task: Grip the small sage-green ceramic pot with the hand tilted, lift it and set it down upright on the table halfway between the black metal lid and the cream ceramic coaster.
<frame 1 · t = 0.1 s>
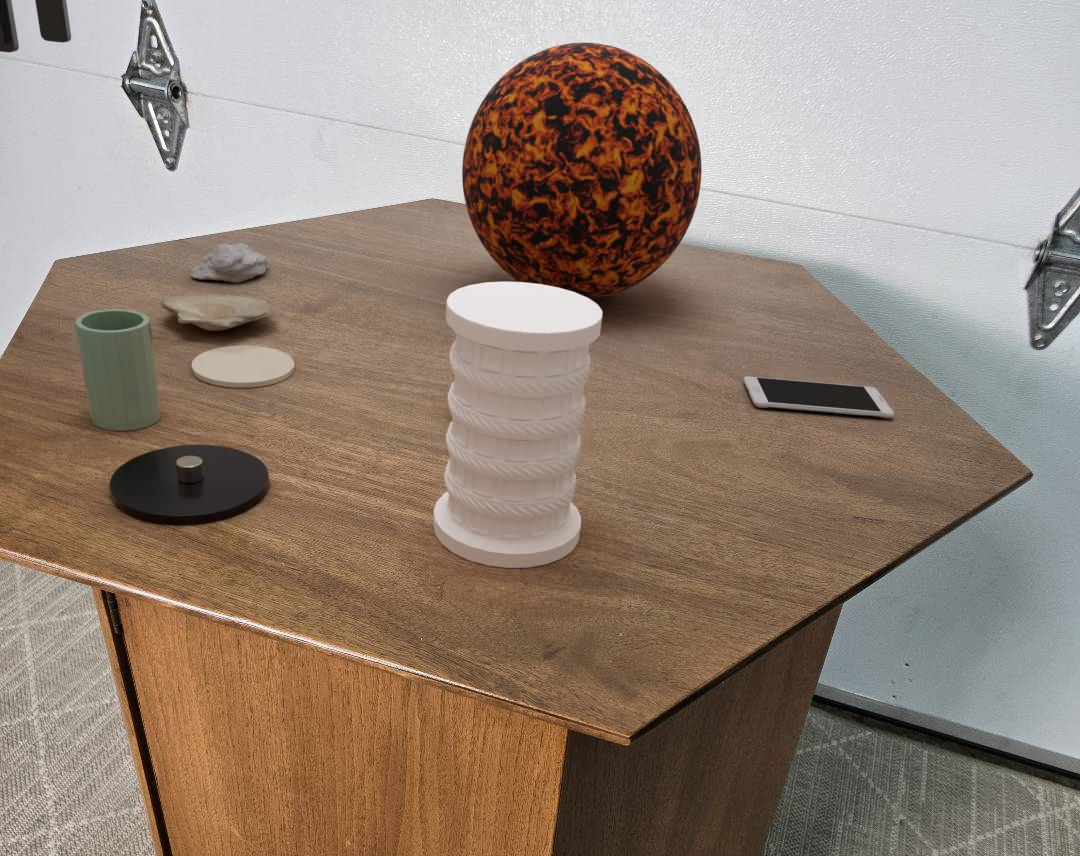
hand: (31, 46, 77), 29 cm above the table, tool pointing down, fingers open, 8 cm apart
stone: (231, 275, 125), on the table
coaster: (243, 368, 100), on the table
lid: (191, 486, 78), on the table
pot: (126, 417, 88), on the table
seashell: (219, 326, 109), on the table
smartphone: (815, 401, 106), on the table
figurine: (471, 419, 94), on the table
ball: (568, 295, 130), on the table
decorative container: (506, 530, 77), on the table
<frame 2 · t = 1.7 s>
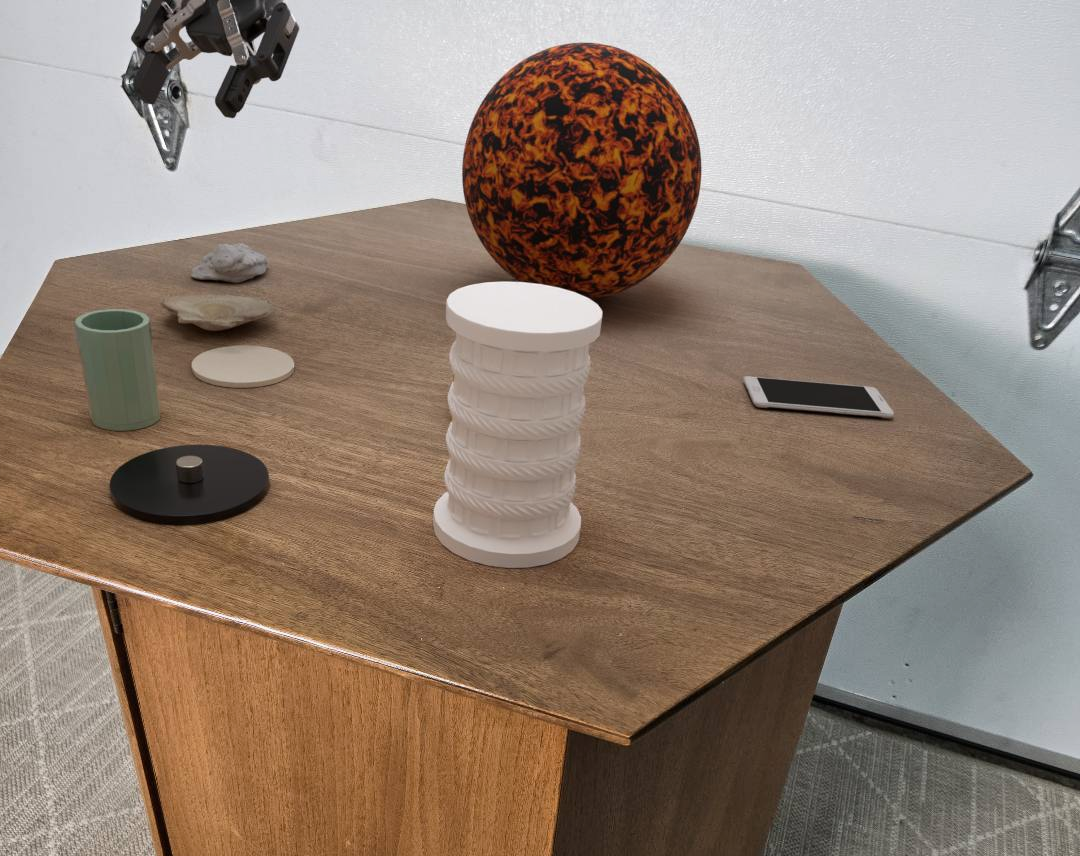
hand: (182, 104, 84), 25 cm above the table, tool tilted 45°, fingers open, 8 cm apart
nothing on the table moved.
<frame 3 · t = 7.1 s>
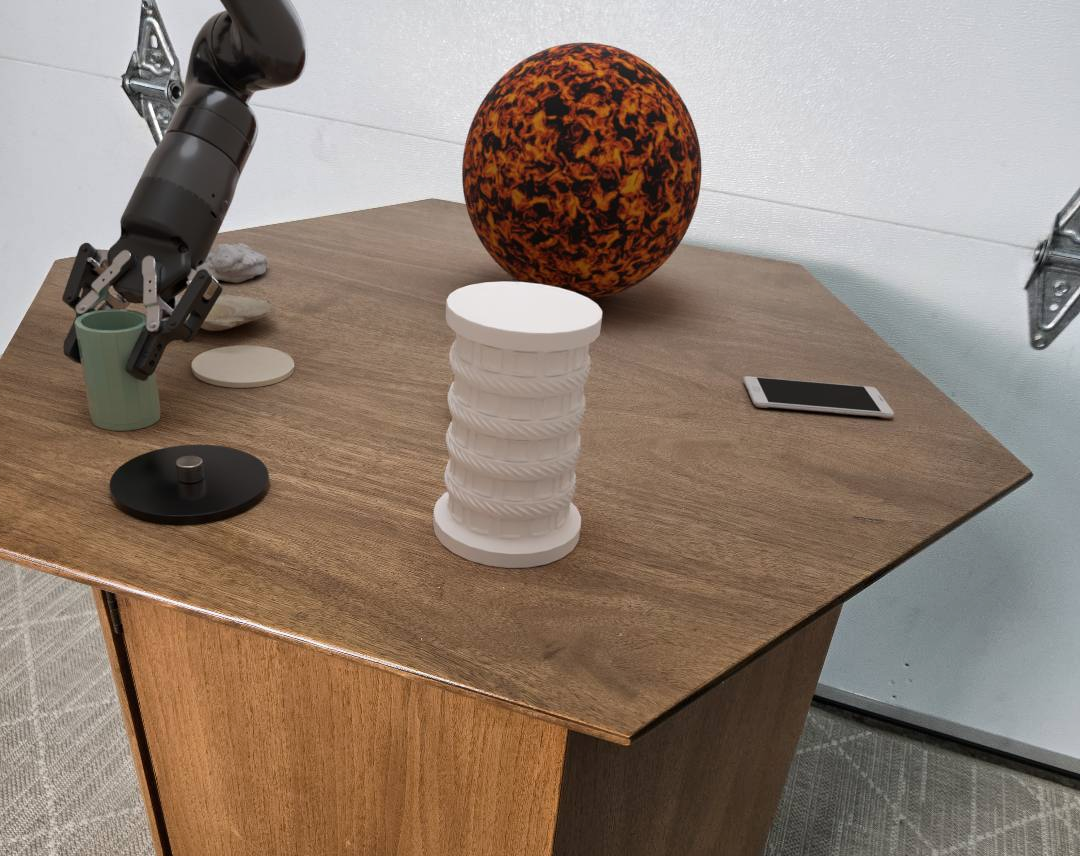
hand: (104, 367, 84), 5 cm above the table, tool tilted 45°, fingers closed on pot, 6 cm apart
pot: (126, 417, 88), on the table, touching gripper
everything else where it was.
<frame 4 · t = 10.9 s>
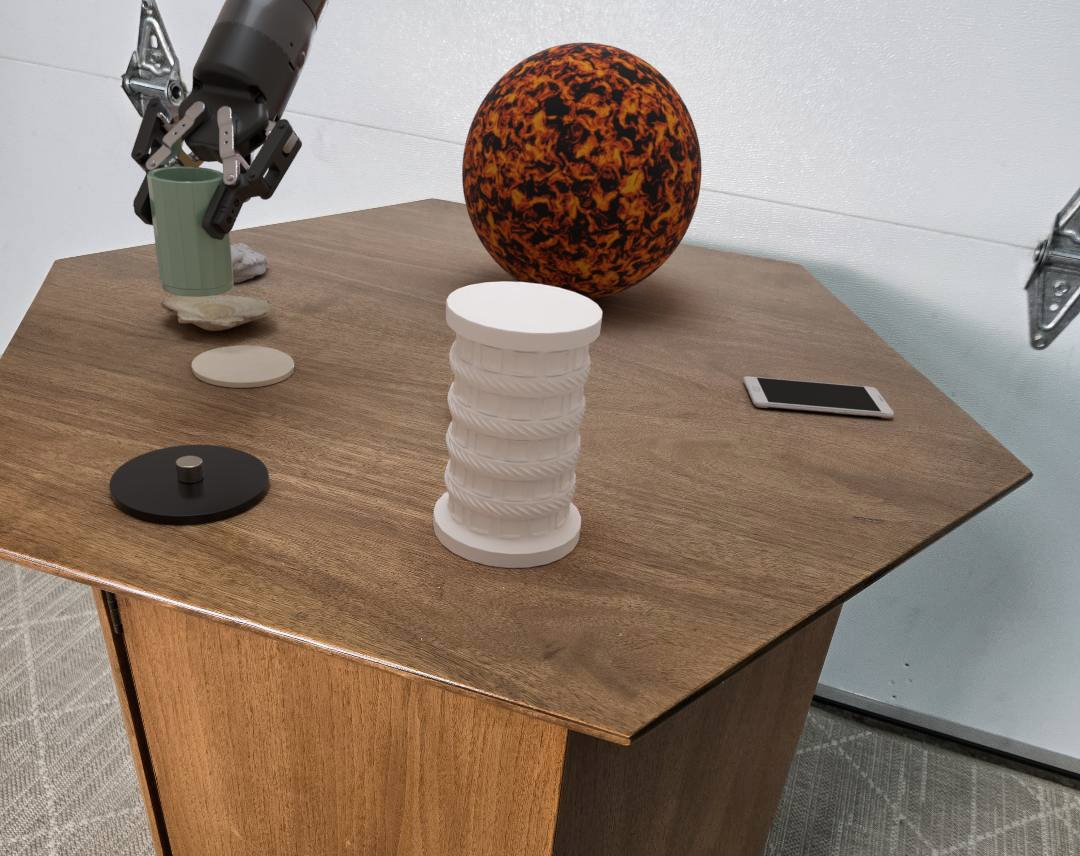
hand: (177, 226, 78), 18 cm above the table, tool tilted 45°, fingers closed on pot, 6 cm apart
pot: (197, 285, 83), point 12 cm above the table, touching gripper
everything else where it was.
when the fingers open (5 cm above the table, at t = 14.7 s): pot stays where it is, on the table.
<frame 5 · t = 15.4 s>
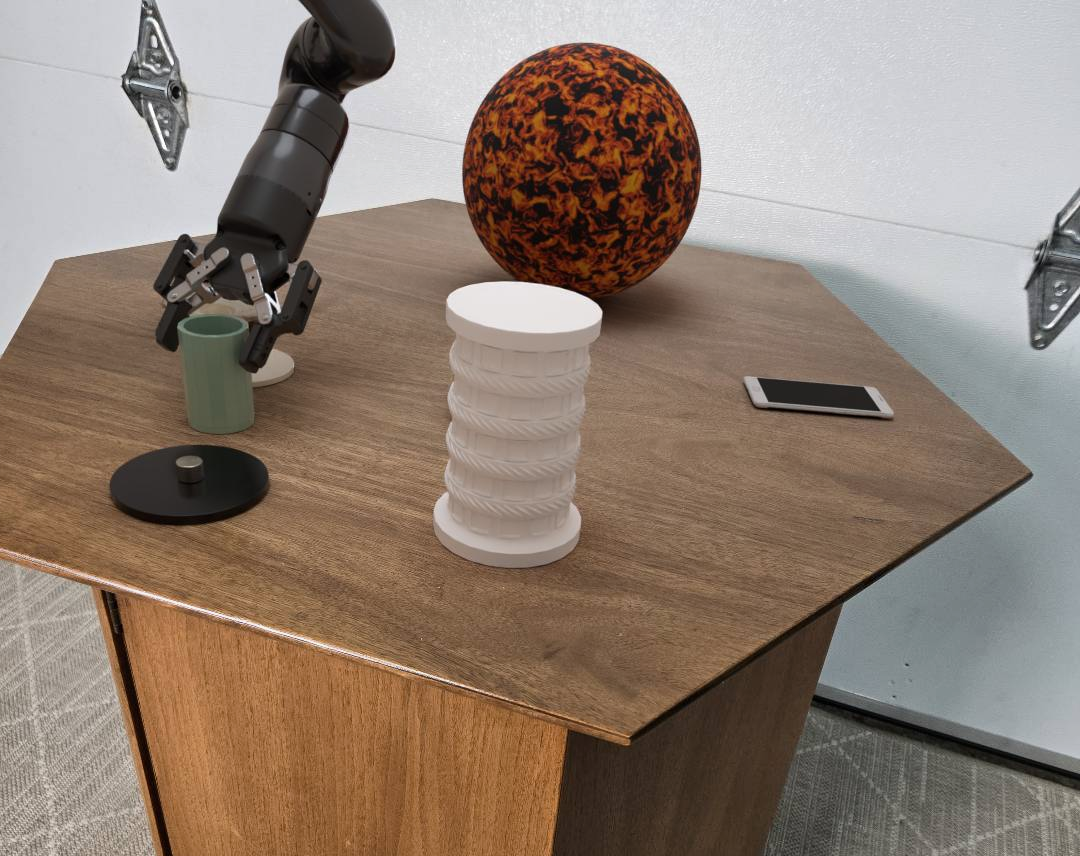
hand: (205, 358, 85), 6 cm above the table, tool tilted 45°, fingers open, 8 cm apart
pot: (221, 420, 89), on the table
everything else where it was.
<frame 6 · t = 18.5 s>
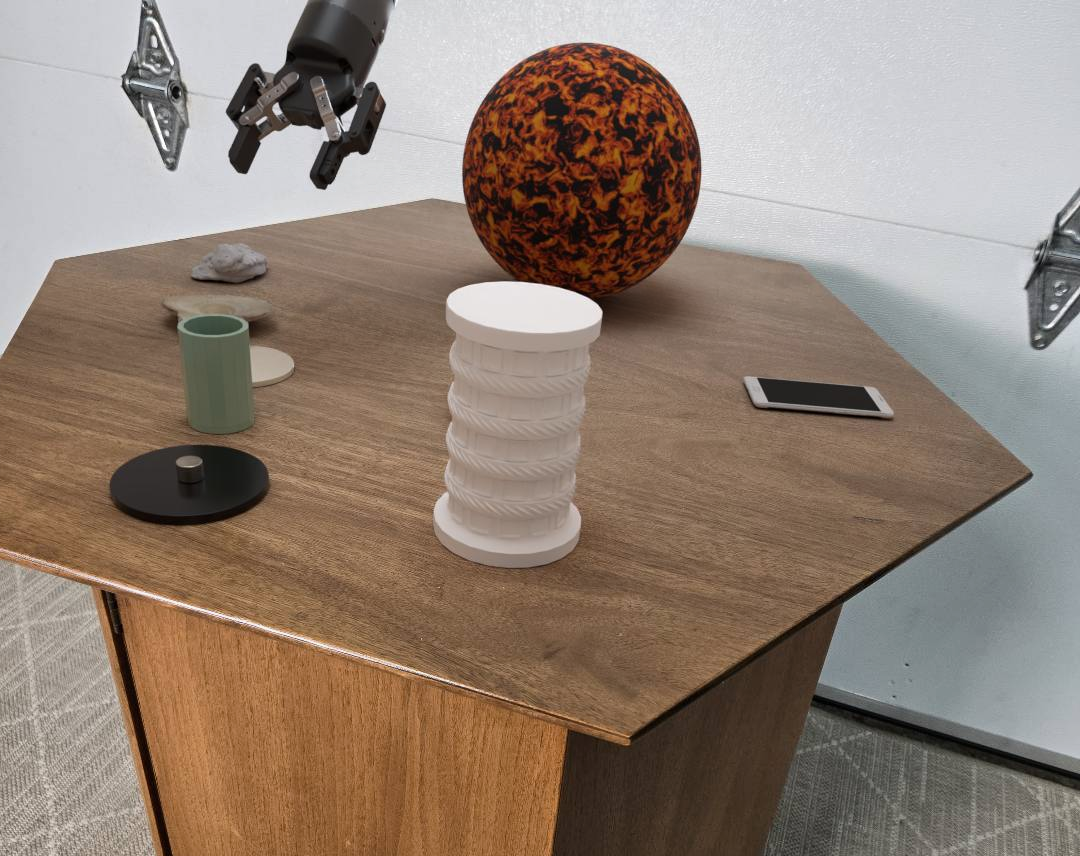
hand: (276, 176, 89), 19 cm above the table, tool tilted 45°, fingers open, 8 cm apart
nothing on the table moved.
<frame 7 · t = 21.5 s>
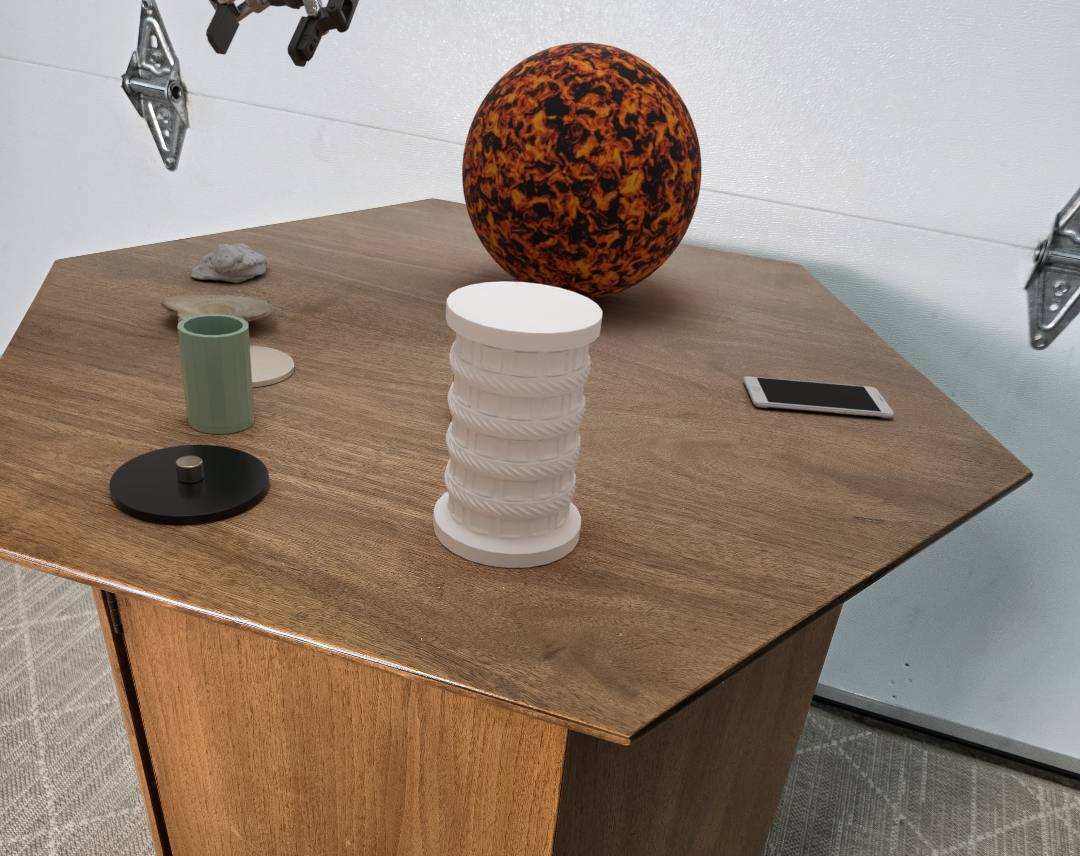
hand: (254, 53, 89), 29 cm above the table, tool tilted 45°, fingers open, 8 cm apart
nothing on the table moved.
at the end: pot inside the target area on the table beside the lid (0.1 cm from its centre), on the table; pot 12.5 cm from the coaster (horizontally); pot tilted 0° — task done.
